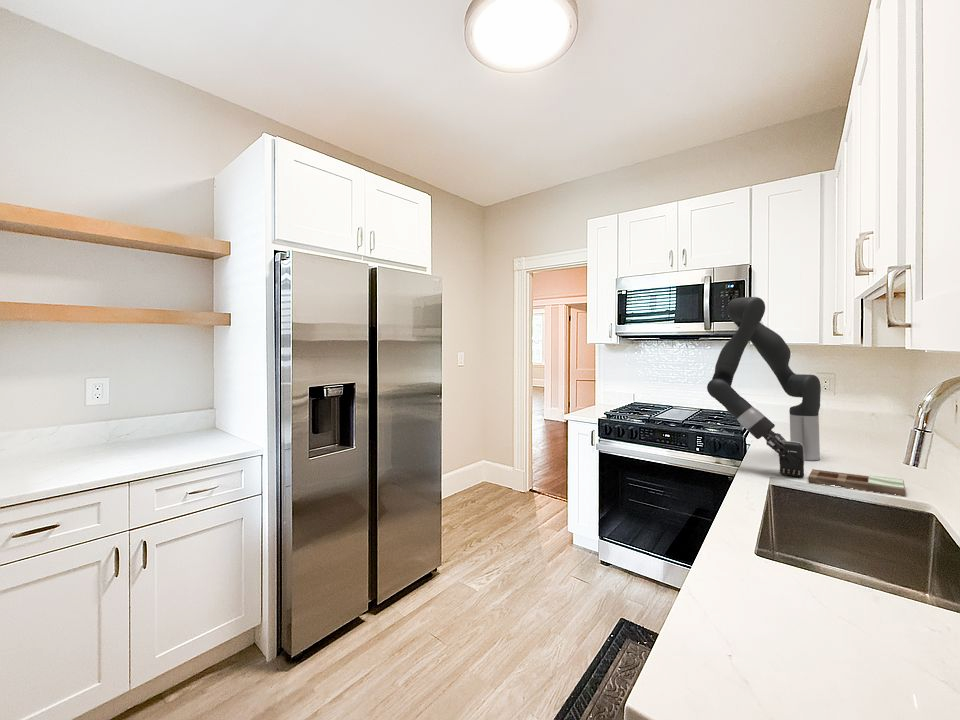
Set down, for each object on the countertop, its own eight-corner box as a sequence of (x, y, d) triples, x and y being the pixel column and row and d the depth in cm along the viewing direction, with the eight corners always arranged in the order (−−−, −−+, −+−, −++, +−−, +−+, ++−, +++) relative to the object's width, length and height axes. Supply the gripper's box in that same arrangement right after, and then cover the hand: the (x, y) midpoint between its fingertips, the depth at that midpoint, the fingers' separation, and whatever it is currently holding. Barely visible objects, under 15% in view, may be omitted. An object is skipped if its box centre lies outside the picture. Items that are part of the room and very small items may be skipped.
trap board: (812, 475, 145) (812, 468, 145) (903, 486, 130) (903, 479, 130) (808, 482, 136) (808, 475, 136) (905, 496, 121) (905, 488, 121)
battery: (778, 475, 145) (777, 441, 145) (779, 472, 148) (779, 439, 148) (803, 478, 140) (802, 444, 140) (805, 476, 143) (804, 442, 143)
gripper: (759, 418, 144) (805, 458, 136) (767, 413, 154) (810, 451, 146) (742, 432, 148) (785, 472, 139) (751, 426, 158) (792, 464, 150)
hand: (798, 461), depth 143 cm, fingers closed on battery, 4 cm apart
